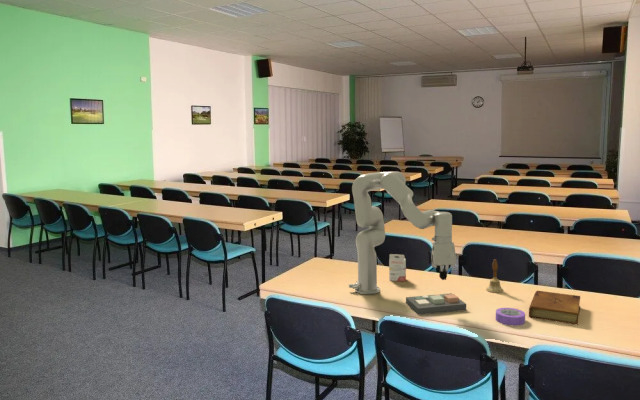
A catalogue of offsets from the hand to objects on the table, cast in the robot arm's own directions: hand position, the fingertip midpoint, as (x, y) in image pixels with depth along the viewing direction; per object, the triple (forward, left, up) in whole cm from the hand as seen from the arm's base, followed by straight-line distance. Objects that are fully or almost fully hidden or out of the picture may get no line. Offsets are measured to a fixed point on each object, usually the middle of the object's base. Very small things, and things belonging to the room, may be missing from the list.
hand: (443, 278), depth 225 cm
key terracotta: (+4, 0, -11) cm, 12 cm away
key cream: (-10, 0, -12) cm, 16 cm away
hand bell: (+35, +16, -14) cm, 41 cm away
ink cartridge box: (-6, +45, -14) cm, 48 cm away
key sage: (-3, 0, -11) cm, 11 cm away
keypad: (-3, +2, -14) cm, 14 cm away
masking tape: (+21, -21, -14) cm, 33 cm away
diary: (+45, -17, -14) cm, 50 cm away
